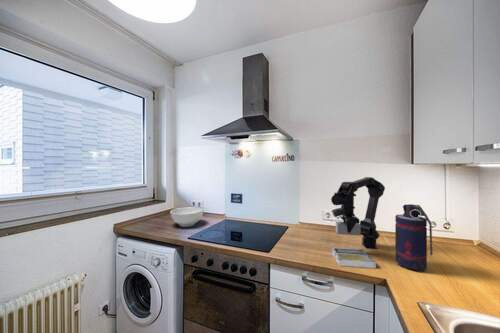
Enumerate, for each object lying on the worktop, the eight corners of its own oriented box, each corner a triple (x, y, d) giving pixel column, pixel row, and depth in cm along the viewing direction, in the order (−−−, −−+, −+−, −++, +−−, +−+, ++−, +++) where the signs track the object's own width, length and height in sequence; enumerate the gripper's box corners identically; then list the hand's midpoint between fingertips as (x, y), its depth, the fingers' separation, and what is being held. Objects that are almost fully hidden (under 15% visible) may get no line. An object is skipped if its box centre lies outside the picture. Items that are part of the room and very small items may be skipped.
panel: (357, 233, 113) (357, 222, 113) (360, 235, 109) (360, 224, 109) (335, 231, 115) (335, 221, 115) (337, 234, 111) (337, 223, 111)
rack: (362, 254, 109) (362, 248, 109) (375, 268, 94) (375, 261, 94) (331, 252, 111) (331, 246, 111) (339, 265, 96) (339, 258, 96)
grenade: (393, 265, 96) (393, 204, 96) (397, 258, 104) (397, 201, 104) (431, 277, 86) (431, 209, 86) (433, 267, 95) (433, 205, 95)
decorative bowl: (162, 228, 155) (162, 212, 155) (183, 219, 181) (183, 206, 181) (192, 231, 147) (192, 215, 147) (209, 221, 173) (209, 208, 173)
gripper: (329, 200, 122) (329, 225, 122) (337, 206, 104) (337, 236, 104) (348, 201, 120) (348, 227, 120) (360, 207, 102) (359, 237, 102)
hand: (347, 231), depth 112 cm, fingers closed on panel, 4 cm apart
